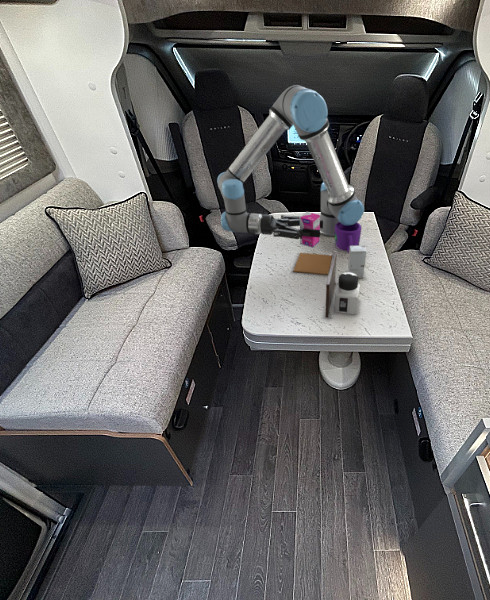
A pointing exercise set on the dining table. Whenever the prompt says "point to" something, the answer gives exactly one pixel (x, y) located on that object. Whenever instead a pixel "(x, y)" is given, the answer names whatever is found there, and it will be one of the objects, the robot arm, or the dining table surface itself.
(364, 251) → the cosmetic box
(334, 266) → the backboard
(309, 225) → the supplement box
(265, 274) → the dining table surface
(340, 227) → the mug
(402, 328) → the dining table surface
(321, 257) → the cork mat
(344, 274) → the container
